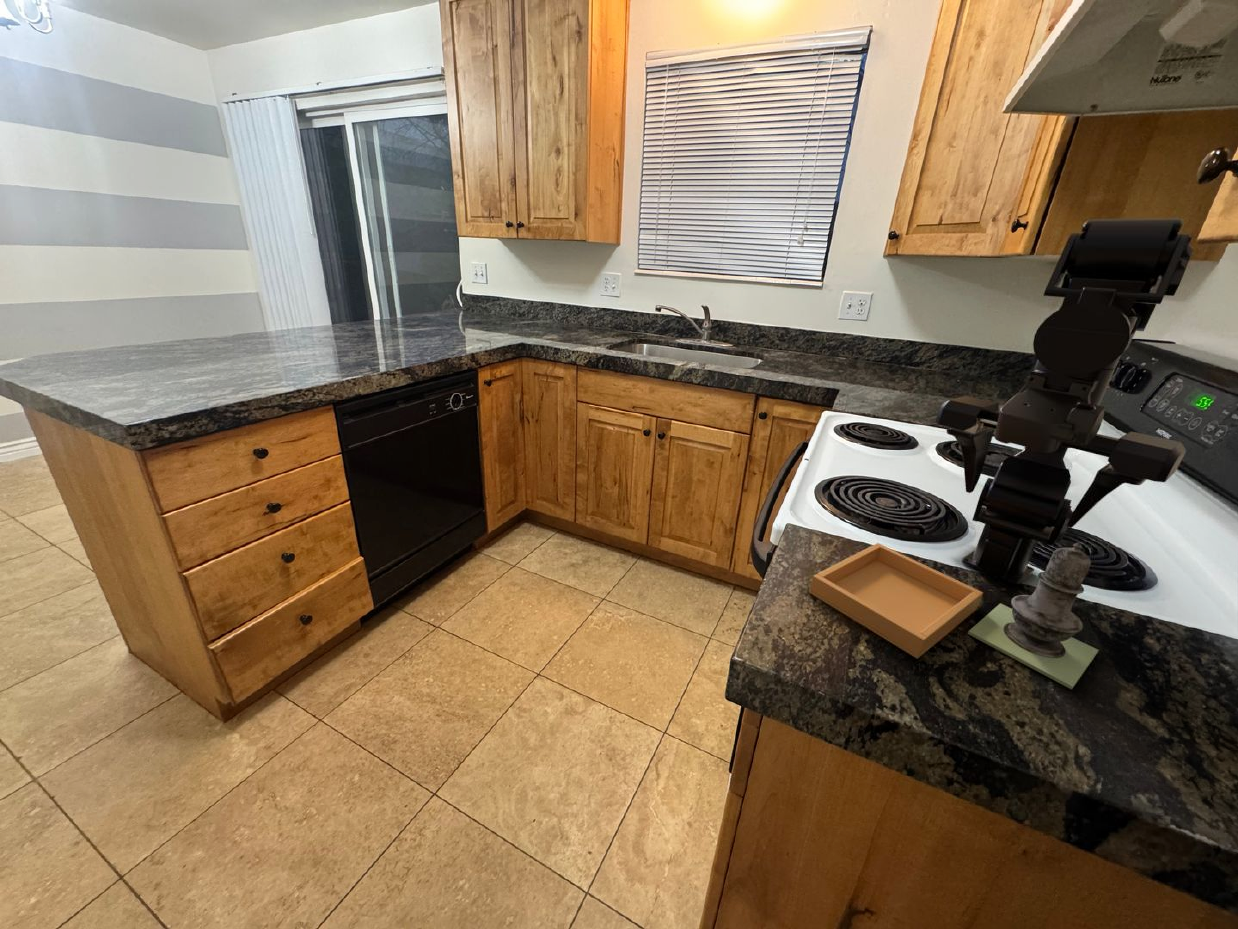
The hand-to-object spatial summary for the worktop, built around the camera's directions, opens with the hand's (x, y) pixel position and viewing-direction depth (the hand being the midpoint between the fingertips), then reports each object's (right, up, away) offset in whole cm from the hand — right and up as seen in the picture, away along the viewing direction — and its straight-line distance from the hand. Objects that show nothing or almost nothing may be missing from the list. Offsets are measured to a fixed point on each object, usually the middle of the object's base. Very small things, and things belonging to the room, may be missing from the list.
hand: (1016, 508), depth 54 cm
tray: (-11, -11, +5) cm, 16 cm away
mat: (+1, -14, -1) cm, 14 cm away
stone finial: (+1, -14, -1) cm, 14 cm away
